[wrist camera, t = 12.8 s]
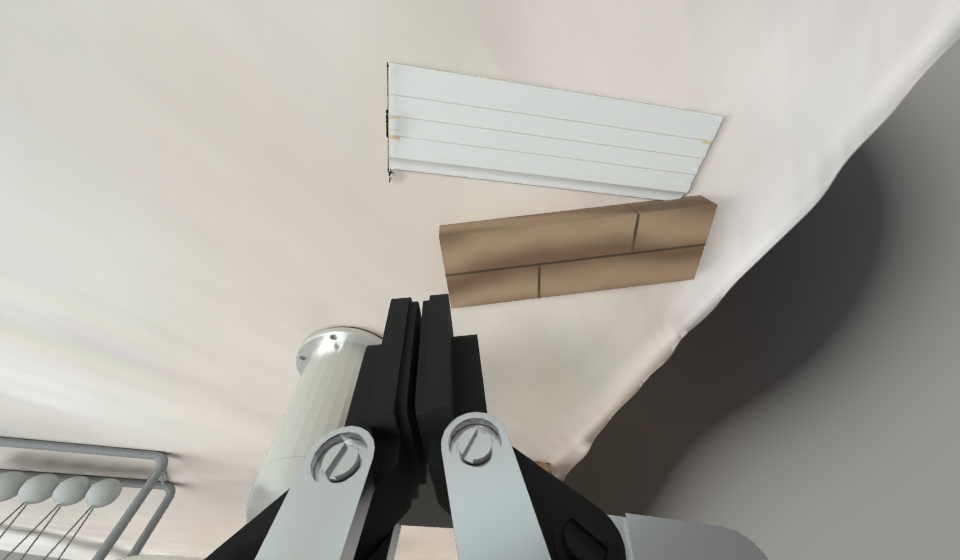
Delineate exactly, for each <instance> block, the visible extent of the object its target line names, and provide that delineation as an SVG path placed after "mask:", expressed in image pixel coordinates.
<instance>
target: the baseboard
mask: <svg viewBox="0 0 960 560" xmlns="http://www.w3.org/2000/svg"><path fill="white" fill-rule="evenodd" d="M388 67H389V94H390V108H389V115H390V170H391V169H399V170H407V171H416V172H425V173H433V174H442V175H451V176H459V177H468V178H476V179H485V180H494V181H502V182H511V183H520V184H528V185H537V186H545V187H554V188H563V189H571V190H580V191H589V192H597V193H606V194H614V195H623V196H632V197H640V198H649V199H658V200H673V199H681V197H682V196H683V195H685V194H686V193H688V191H689V189H690V187H691V183H692V181H693V179H694V177H695V175H696V174H697V172H698V169H699V166H700V164H701V162H702V160H703V159H704V157H705V155H706V152H707V150H708V148H709V146H710V143H711V142H712V141H713V139H714V137H715V134H716V132H717V130H718V128H719V126H720V124H721V122H722V120H723V118H724V116H721V115H716V114H709V113H703V112H697V111H691V110H684V109H678V108H672V107H666V106H659V105H653V104H647V103H640V102H634V101H628V100H622V99H615V98H609V97H603V96H597V95H590V94H584V93H578V92H572V91H565V90H559V89H553V88H547V87H540V86H534V85H528V84H522V83H515V82H509V81H503V80H497V79H490V78H484V77H478V76H471V75H465V74H459V73H453V72H446V71H440V70H434V69H428V68H421V67H415V66H409V65H403V64H396V63H389V66H388V62H387V83H388ZM386 113H387V114H388V110H386ZM387 114H386V123H387V124H386V130H388V115H387ZM386 134H387V135H386V137H388V131H386ZM388 173H389V176H390V174H391V171H390V172H389V161H388ZM390 179H391V178H389V182H390Z"/></svg>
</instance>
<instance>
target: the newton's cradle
mask: <svg viewBox="0 0 960 560" xmlns="http://www.w3.org/2000/svg"><path fill="white" fill-rule="evenodd" d="M0 446H4V447H16V448H27V449H39V450H50V451H62V452H73V453H85V454H96V455H107V456H119V457H130V458H142V459H153V460H155V462H156V465H157V468H156V469H155V471H154V472H153V473H152V475H151V476H150V478H149V479H148V480H136V479H122V478H109V477H95V476H82V475H68V474H55V473H41V472H28V471H14V470H1V469H0V502H2V501H6V500H8V499H11V498H13V497H15V496H16V495H18V498H19V500H20V501H21V502H22V503H23V504H24V505H25V506H24V507H23V509H24V508H25V507H26V506H27V504H36V503H40V502H42V501H45V500H47V499H48V498H50V497H51V496H52V500H53V502H54V503H55V504H57V506H56V507H55V508H54V509H53V510H52V511H51V512H50V513H49V514H48V515H47V516H46V517H45V518H44V519H43V520H42V521H41V522H40V523H39V524H38V525H37V526H36V527H35V528H34V529H33V530H32V531H31V532H30V533H29V534H28V535H27V536H26V537H25V538H24V539H23V540H22V541H21V542H20V543H19V544H18V545H17V546H16V547H15V548H14V549H13V550H12V551H11V552H10V553H9V554H8V555H7V556H6V557H5V558H4V559H3V560H5V559H6V558H7V557H8V556H9V555H10V554H11V553H12V552H13V551H14V550H15V549H16V548H17V547H18V546H19V545H20V544H21V543H22V542H23V541H24V540H25V539H26V538H27V537H28V536H29V535H30V534H31V533H32V532H33V531H34V530H35V529H36V528H37V527H38V526H39V525H40V524H41V523H42V522H43V521H44V520H45V519H46V518H47V517H48V516H49V515H50V514H51V513H52V512H53V511H54V510H55V509H56V508H57V507H59V508H58V510H59V509H60V508H61V506H69V505H72V504H75V503H77V502H79V501H81V500H82V499H83V498H85V502H86V504H87V505H88V506H90V508H89V509H88V510H87V511H86V512H85V513H84V515H85V514H86V513H87V512H88V511H89V510H90V509H92V510H93V509H94V508H100V507H104V506H106V505H108V504H110V503H112V502H113V501H114V500H116V498H117V497H118V496H119V495H120V493H121V490H122V487H134V488H142V489H141V490H140V492H139V493H138V495H137V496H136V498H135V499H134V500H133V502H132V503H131V505H130V506H129V508H128V509H127V510H126V512H125V513H124V515H123V516H122V518H121V519H120V520H119V522H118V523H117V525H116V526H115V528H114V529H113V530H112V532H111V533H110V535H109V536H108V538H107V539H106V540H105V542H104V543H103V545H102V546H101V547H100V549H99V550H98V552H97V553H96V555H95V556H94V557H93V559H92V560H104V559H105V557H106V556H107V554H108V553H109V551H110V550H111V549H112V547H113V546H114V544H115V543H116V541H117V540H118V538H119V537H120V535H121V534H122V532H123V531H124V529H125V528H126V526H127V525H128V523H129V522H130V521H131V519H132V518H133V516H134V515H135V513H136V512H137V510H138V509H139V507H140V506H141V504H142V503H143V501H144V500H145V498H146V497H147V495H148V494H149V492H150V491H151V490H152V489H162V490H165V491H166V496H165V498H164V500H163V501H162V503H161V504H160V506H159V508H158V509H157V511H156V512H155V514H154V515H153V517H152V519H151V520H150V522H149V523H148V525H147V526H146V528H145V530H144V531H143V533H142V534H141V536H140V537H139V539H138V541H137V542H136V544H135V545H134V547H133V548H132V550H131V552H130V553H129V555H128V556H127V557H130V556H137V555H138V554H139V553H140V551H141V550H142V548H143V546H144V545H145V543H146V541H147V540H148V538H149V537H150V535H151V533H152V532H153V530H154V528H155V527H156V525H157V524H158V522H159V520H160V519H161V517H162V515H163V514H164V512H165V511H166V509H167V507H168V506H169V504H170V502H171V501H172V499H173V497H174V495H175V487H174V485H173V484H171V483H169V482H165V481H164V477H163V474H162V473H163V472H164V470H165V469H166V467H167V465H168V458H167V456H166V455H165V454H164V453H162V452H158V451H147V450H136V449H125V448H115V447H104V446H93V445H82V444H71V443H60V442H50V441H39V440H28V439H17V438H6V437H0ZM159 478H160V480H161V481H158V479H159ZM27 480H28V481H27ZM60 482H62V483H60ZM92 485H93V486H92ZM23 504H21V505H20V506H19V507H18V508H17V509H16V510H15V511H14V512H13V513H15V512H16V511H17V510H18V509H19V508H20V507H21V506H22V505H23ZM23 509H22V510H21V511H20V512H19V514H20V513H21V512H22V511H23ZM58 510H57V511H56V512H55V514H56V513H57V512H58ZM92 510H91V511H90V513H91V512H92ZM13 513H12V514H13ZM90 513H89V514H88V516H89V515H90ZM12 514H10V515H9V516H8V517H7V518H6V519H5V520H4V521H3V522H2V523H1V524H3V523H4V522H5V521H6V520H7V519H8V518H9V517H10V516H11V515H12ZM19 514H18V515H17V516H16V517H15V519H16V518H17V517H18V516H19ZM55 514H54V515H53V516H52V518H53V517H54V516H55ZM84 515H83V516H84ZM83 516H82V517H83ZM88 516H87V517H86V518H85V520H84V521H83V523H82V524H81V526H80V527H79V529H78V530H77V532H78V531H79V530H80V528H81V527H82V525H83V524H84V522H85V521H86V519H87V518H88ZM82 517H81V518H80V519H79V520H78V521H77V522H76V523H75V525H76V524H77V523H78V522H79V521H80V520H81V519H82ZM52 518H51V519H50V520H49V522H50V521H51V520H52ZM15 519H14V520H13V521H12V522H11V523H10V525H9V526H8V527H7V528H6V530H5V531H4V532H3V533H2V535H1V536H0V538H1V537H2V536H3V534H4V533H5V532H6V531H7V529H8V528H9V527H10V526H11V524H12V523H13V522H14V521H15ZM49 522H48V523H47V524H46V526H45V527H44V528H43V530H42V531H41V532H40V534H39V535H38V536H37V538H36V539H35V540H34V542H33V543H32V544H31V546H30V547H29V548H28V550H27V551H26V553H27V552H28V551H29V549H30V548H31V547H32V545H33V544H34V543H35V541H36V540H37V539H38V537H39V536H40V535H41V533H42V532H43V531H44V529H45V528H46V527H47V525H48V524H49ZM1 524H0V525H1ZM75 525H74V526H75ZM74 526H73V527H74ZM73 527H72V528H71V529H70V530H69V531H68V532H67V533H66V535H67V534H68V533H69V532H70V531H71V530H72V529H73ZM77 532H76V533H75V535H76V534H77ZM66 535H65V536H66ZM75 535H74V536H73V537H72V539H71V540H70V542H69V543H68V545H67V546H66V548H65V549H64V551H63V552H62V554H63V553H64V552H65V550H66V549H67V547H68V546H69V544H70V543H71V541H72V540H73V538H74V537H75ZM65 536H64V537H65ZM64 537H63V538H62V539H61V540H60V541H59V542H58V543H57V544H56V546H57V545H58V544H59V543H60V542H61V541H62V540H63V539H64ZM56 546H55V547H54V548H53V549H52V550H51V551H50V552H49V553H48V554H47V556H48V555H49V554H50V553H51V552H52V551H53V550H54V549H55V548H56ZM26 553H25V554H24V555H23V557H22V558H21V559H20V560H22V559H23V558H24V556H25V555H26ZM62 554H61V555H60V556H59V558H58V559H57V560H59V559H60V557H61V556H62ZM47 556H46V557H47ZM46 557H45V558H46ZM45 558H44V559H43V560H45Z"/></svg>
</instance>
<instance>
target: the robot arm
mask: <svg viewBox="0 0 960 560" xmlns="http://www.w3.org/2000/svg"><path fill="white" fill-rule="evenodd" d="M296 365H297V369H298V371H299V373H300V375H301V378H300V380H299V383H298V385H297V387H296V389H295V392H294V394H293V396H292V398H291V400H290V403H289V405H288V407H287V409H286V411H285V414H284V416H283V418H282V420H281V422H280V425H279V427H278V429H277V431H276V434H275V436H274V438H273V440H272V442H271V445H270V447H269V449H268V451H267V453H266V456H265V458H264V460H263V462H262V465H261V467H260V469H259V471H258V474H257V476H256V478H255V480H254V482H253V485H252V487H251V490H250V493H249V497H248V501H247V509H246V517H247V524H246V525H245V526H244V527H243V528H241V529H240V530H239V531H238V532H237V533H235V534H234V535H233V536H232V537H231V538H229V539H228V540H227V541H226V542H225V543H223V544H222V545H221V546H220V547H219V548H217V549H216V550H215V551H214V552H213V553H211V554H210V555H209V556H208V557H207V558H197V557H184V556H165V555H137V556H130V557H125V558H122V559H118V560H394V556H395V552H396V547H397V542H398V538H399V533H400V529H401V518H402V517H403V516H404V515H405V514H406V513H407V512H408V510H409V509H410V508H411V505H412V499H418V498H419V485H421V484H426V482H427V464H428V468H429V472H430V476H431V480H432V483H433V484H434V488H435V493H436V497H437V501H438V504H439V505H440V506H441V507H442V508H443V509H444V510H445V511H446V512H447V513H448V514H449V515H450V516H451V517H452V520H453V527H454V533H455V539H456V546H457V552H458V558H459V560H768V558H767V557H766V555H765V554H764V553H763V552H762V551H761V550H760V549H759V548H758V547H757V546H756V545H755V544H754V543H753V542H752V541H751V540H750V539H748V538H747V537H745V536H744V535H742V534H740V533H739V532H737V531H735V530H732V529H729V528H725V527H723V526H716V525H709V524H701V523H693V522H687V521H679V520H672V519H664V518H657V517H650V516H642V515H635V514H628V513H625V516H624V517H619V516H611V515H606V514H605V513H604V512H603V511H602V510H601V509H599V508H598V507H597V506H595V505H594V504H593V503H591V502H590V501H588V500H587V499H586V498H584V497H583V496H581V495H580V494H579V493H577V492H576V491H574V490H573V489H571V488H570V487H569V486H567V485H566V484H564V483H563V482H562V481H560V480H559V479H557V478H556V477H555V476H553V475H552V474H550V473H549V472H548V471H546V470H545V469H543V468H542V467H541V466H539V465H538V464H536V463H535V462H533V461H532V460H531V459H529V458H528V457H526V456H525V455H524V454H522V453H521V452H519V451H518V450H517V449H515V448H514V447H512V445H511V442H510V439H509V436H508V433H507V431H506V429H505V428H504V426H503V424H502V423H501V422H500V421H499V420H498V419H497V418H495V417H493V416H491V415H489V414H487V409H486V401H485V393H484V385H483V377H482V369H481V362H480V354H479V346H478V338H477V334H476V335H467V336H457V337H454V336H453V328H452V320H451V312H450V303H449V296H448V294H441V295H430V300H428V301H423V309H422V318H421V312H420V307H419V303H418V302H412V299H411V298H410V297H409V298H398V299H392V300H391V303H390V308H389V312H388V317H387V321H386V326H385V331H384V335H383V340H382V339H380V338H379V337H377V336H375V335H374V334H372V333H369V332H366V331H363V330H360V329H355V328H348V327H336V328H329V329H324V330H321V331H319V332H316V333H314V334H312V335H311V336H310V337H308V338H307V339H306V340H305V341H304V342H303V343H302V345H301V347H300V349H299V351H298V353H297V356H296Z"/></svg>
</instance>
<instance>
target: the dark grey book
mask: <svg viewBox="0 0 960 560" xmlns="http://www.w3.org/2000/svg"><path fill="white" fill-rule="evenodd" d="M533 462H535V461H533ZM535 463H536V464H538V465H539V466H541V467H542V468H543V469H545V470H546V471H548V472H549V473H550V474H552V473H551V468H550V467H549V466H550V465H549V463H542V462H535ZM401 525H408V526H425V527H442V528H454V527H453V520H452V517H451V516H450V515H449V514H448V513H447V512H446V511H445V510H444V509H443V508H442V507H441V506H440V505H439V504H438V501H437V497H436V493H435V488H434V484H433V483H432V480H431V476H430V472H429V468H428V464H427V482H426V484H421V485H419V498H418V499H412V505H411V508H410V509H409V510H408V512H407V513H406V514H405V515H404V516H403V517H402V518H401Z"/></svg>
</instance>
